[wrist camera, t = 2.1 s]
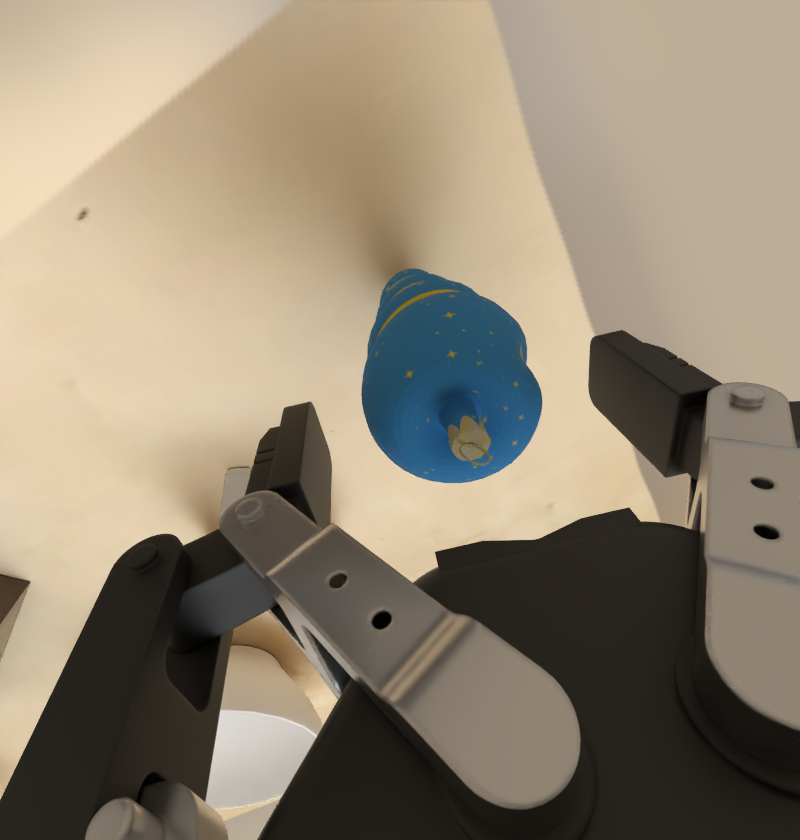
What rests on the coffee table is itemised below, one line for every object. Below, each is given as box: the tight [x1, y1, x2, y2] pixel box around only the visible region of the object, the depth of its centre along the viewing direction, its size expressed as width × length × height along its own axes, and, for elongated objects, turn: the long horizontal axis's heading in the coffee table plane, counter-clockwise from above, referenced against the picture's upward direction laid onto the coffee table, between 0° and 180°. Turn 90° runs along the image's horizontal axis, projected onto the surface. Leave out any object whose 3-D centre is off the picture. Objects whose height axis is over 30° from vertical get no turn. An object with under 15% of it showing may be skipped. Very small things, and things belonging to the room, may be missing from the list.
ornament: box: [362, 269, 542, 483], centre depth 16 cm, size 5×5×15 cm
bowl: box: [205, 645, 323, 810], centre depth 35 cm, size 16×16×7 cm
